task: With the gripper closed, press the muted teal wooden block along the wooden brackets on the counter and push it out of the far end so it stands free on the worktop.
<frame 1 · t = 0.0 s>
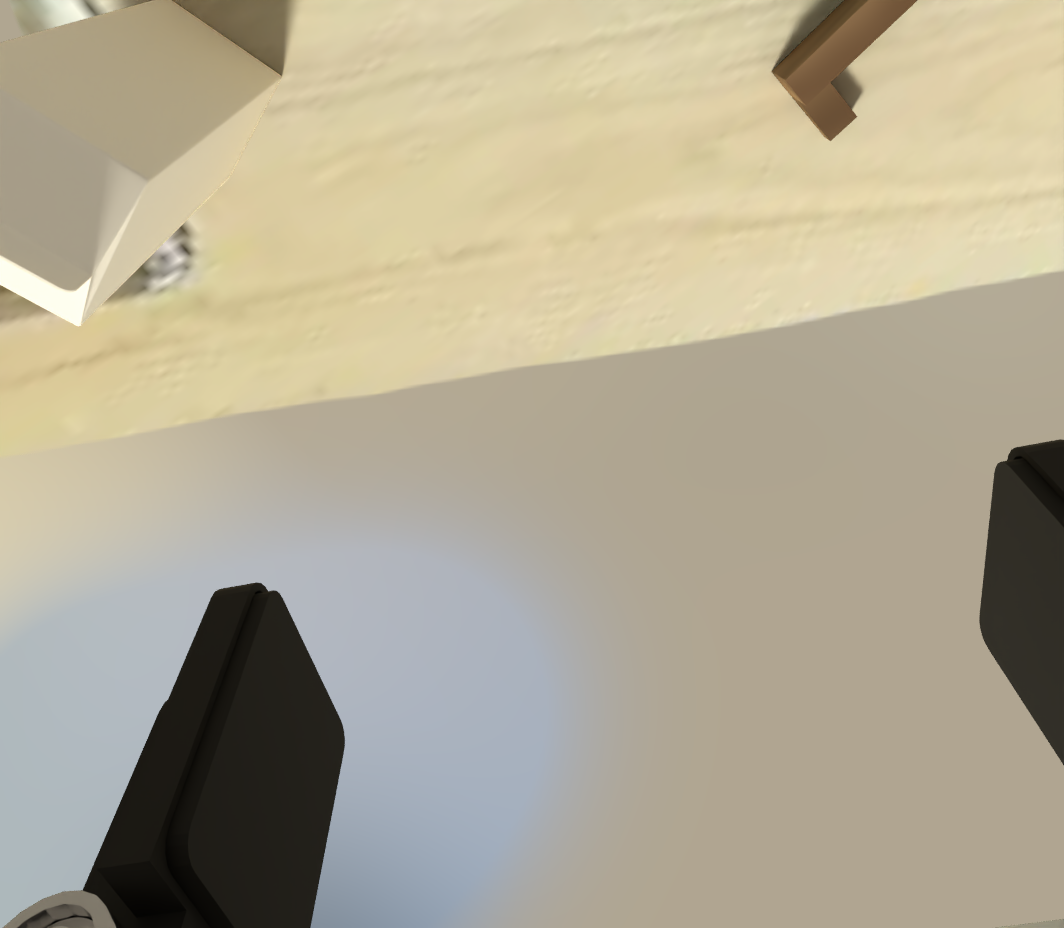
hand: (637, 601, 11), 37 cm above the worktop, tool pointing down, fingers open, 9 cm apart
milk: (201, 90, 43), on the worktop
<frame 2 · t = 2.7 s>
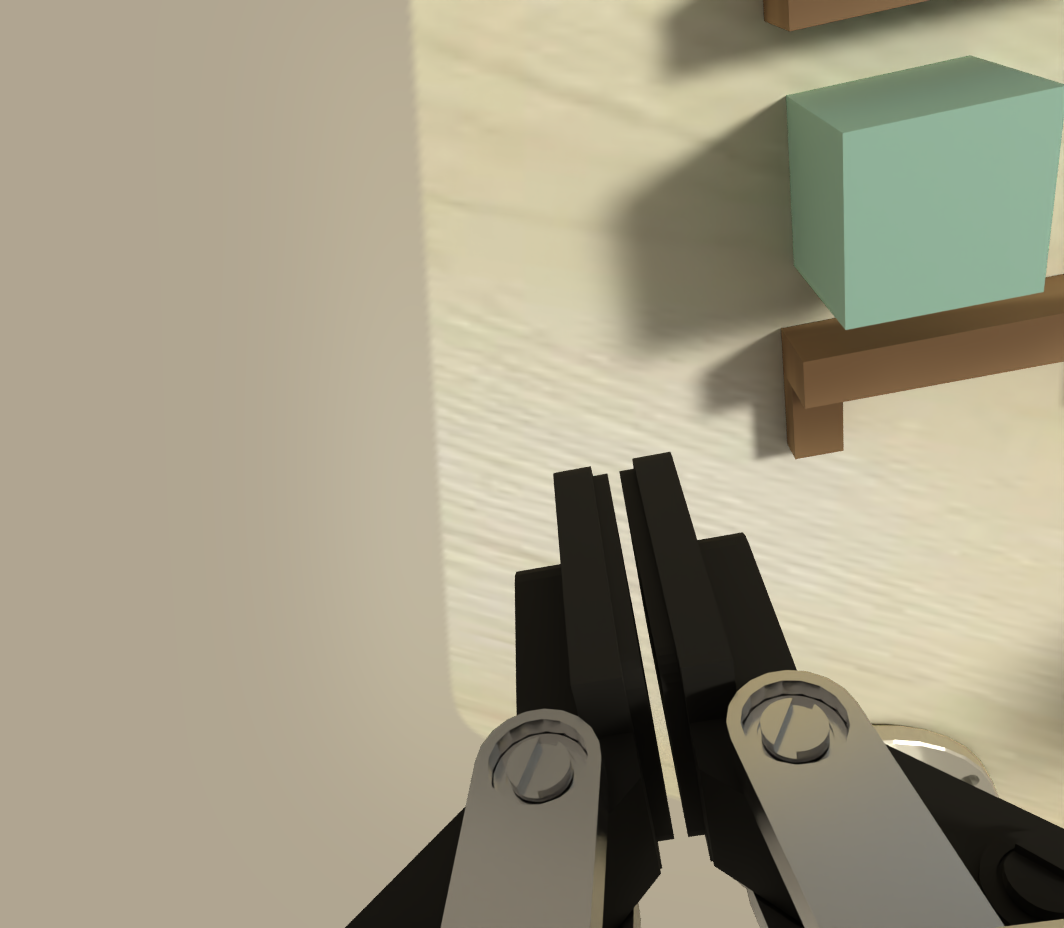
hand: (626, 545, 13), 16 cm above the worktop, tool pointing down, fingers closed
wooden brackets: (983, 145, 25), on the worktop
block: (875, 166, 25), on the worktop
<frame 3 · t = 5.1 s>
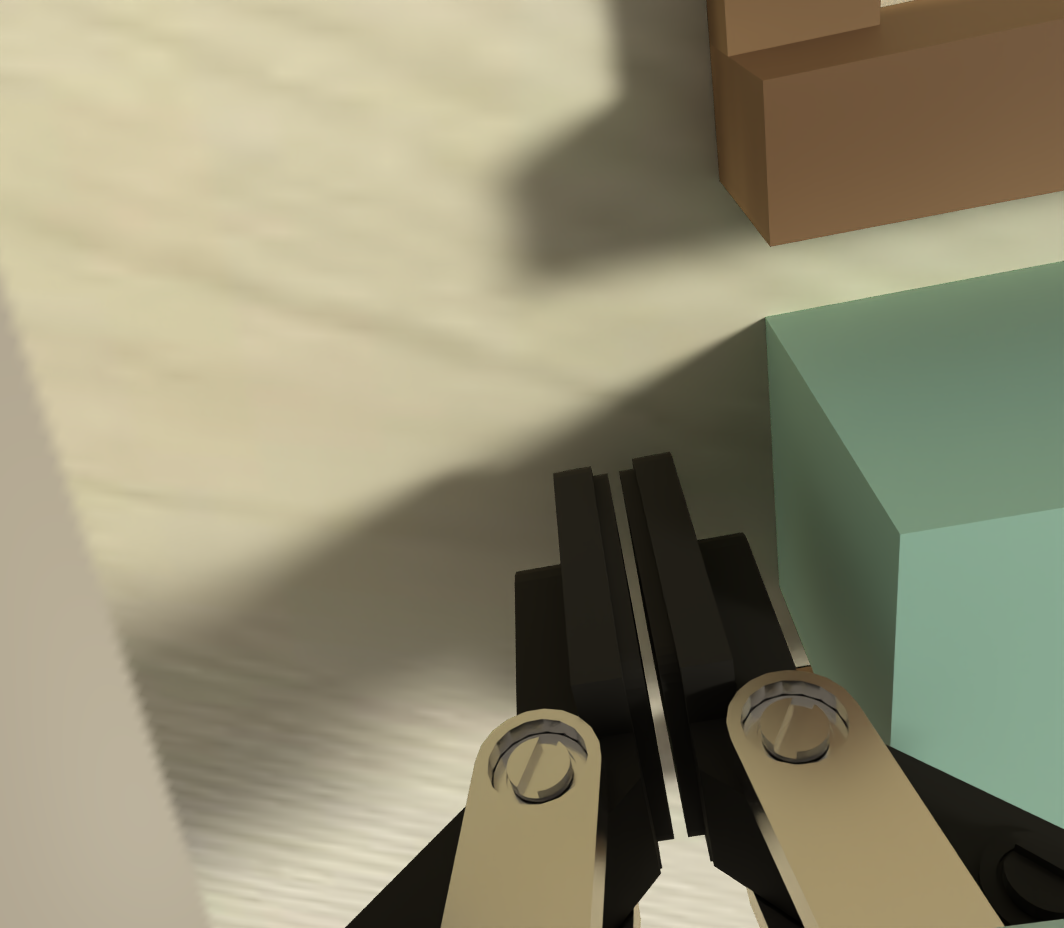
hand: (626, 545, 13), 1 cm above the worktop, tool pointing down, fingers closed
block: (936, 433, 13), on the worktop, touching gripper
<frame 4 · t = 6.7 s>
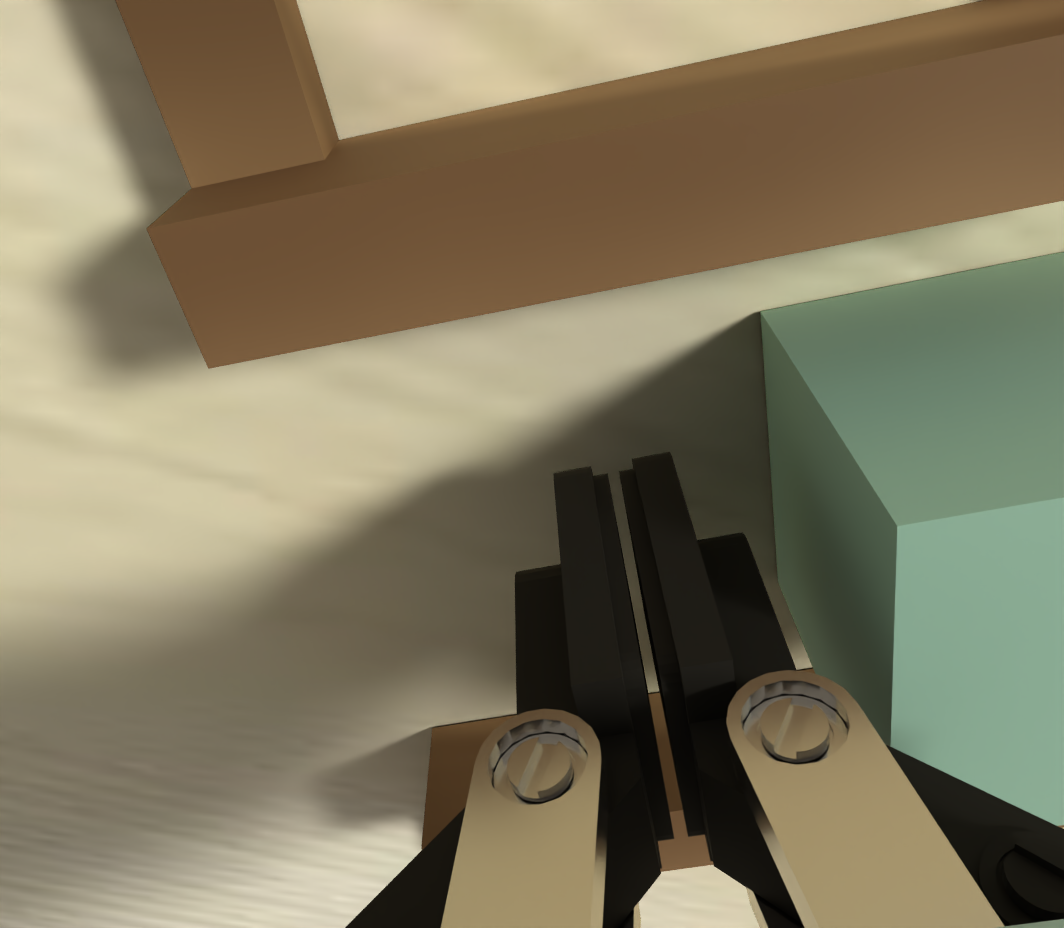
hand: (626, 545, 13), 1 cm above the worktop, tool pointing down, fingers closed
wooden brackets: (730, 479, 14), on the worktop
block: (934, 429, 13), on the worktop, touching gripper
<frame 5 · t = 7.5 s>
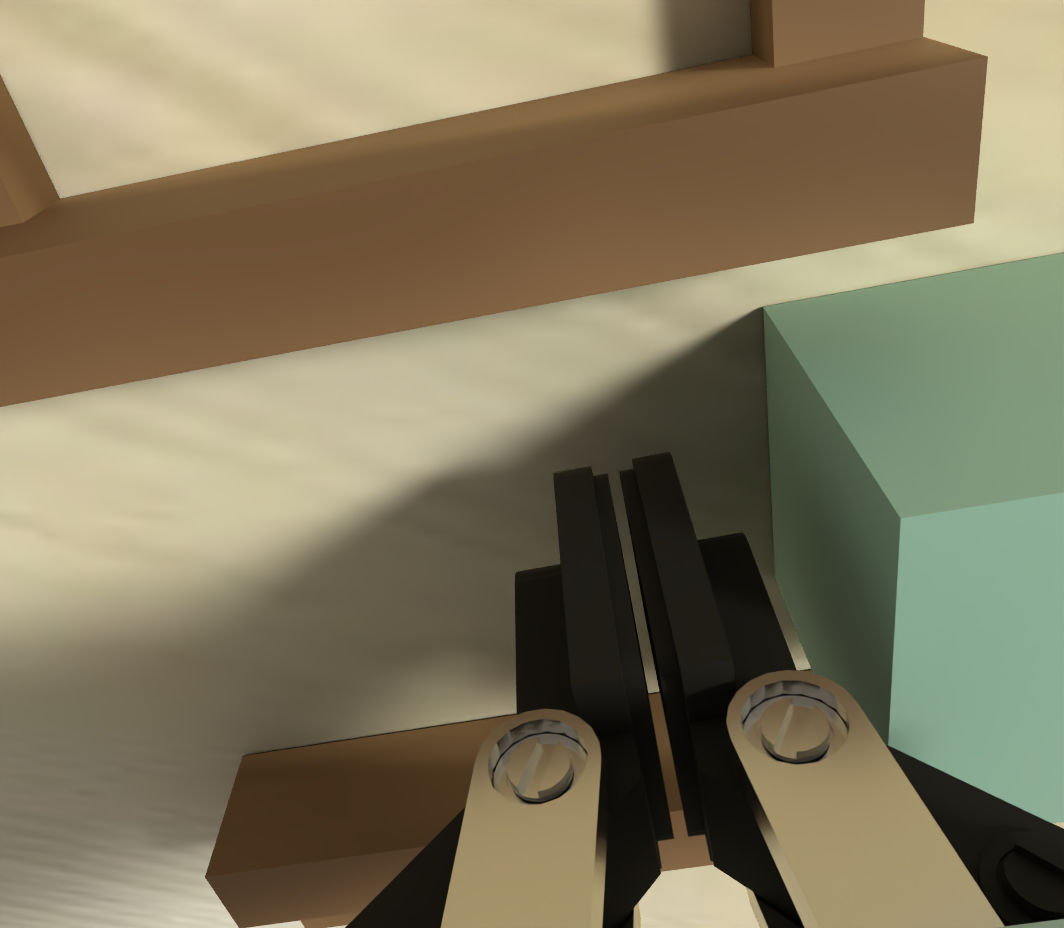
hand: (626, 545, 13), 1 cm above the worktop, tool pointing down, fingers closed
wooden brackets: (497, 520, 14), on the worktop
block: (934, 428, 13), on the worktop, touching gripper
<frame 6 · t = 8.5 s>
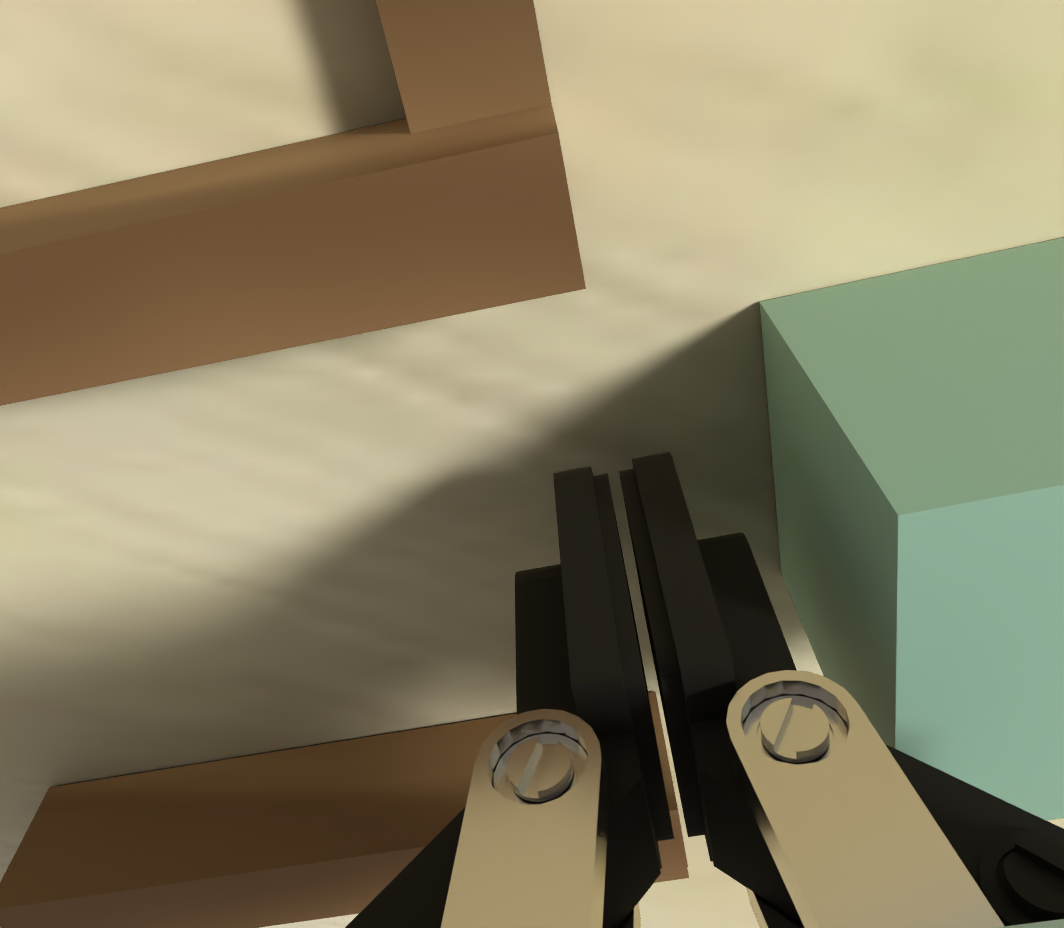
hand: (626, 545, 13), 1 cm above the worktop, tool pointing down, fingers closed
wooden brackets: (256, 560, 14), on the worktop
block: (938, 419, 13), on the worktop, touching gripper
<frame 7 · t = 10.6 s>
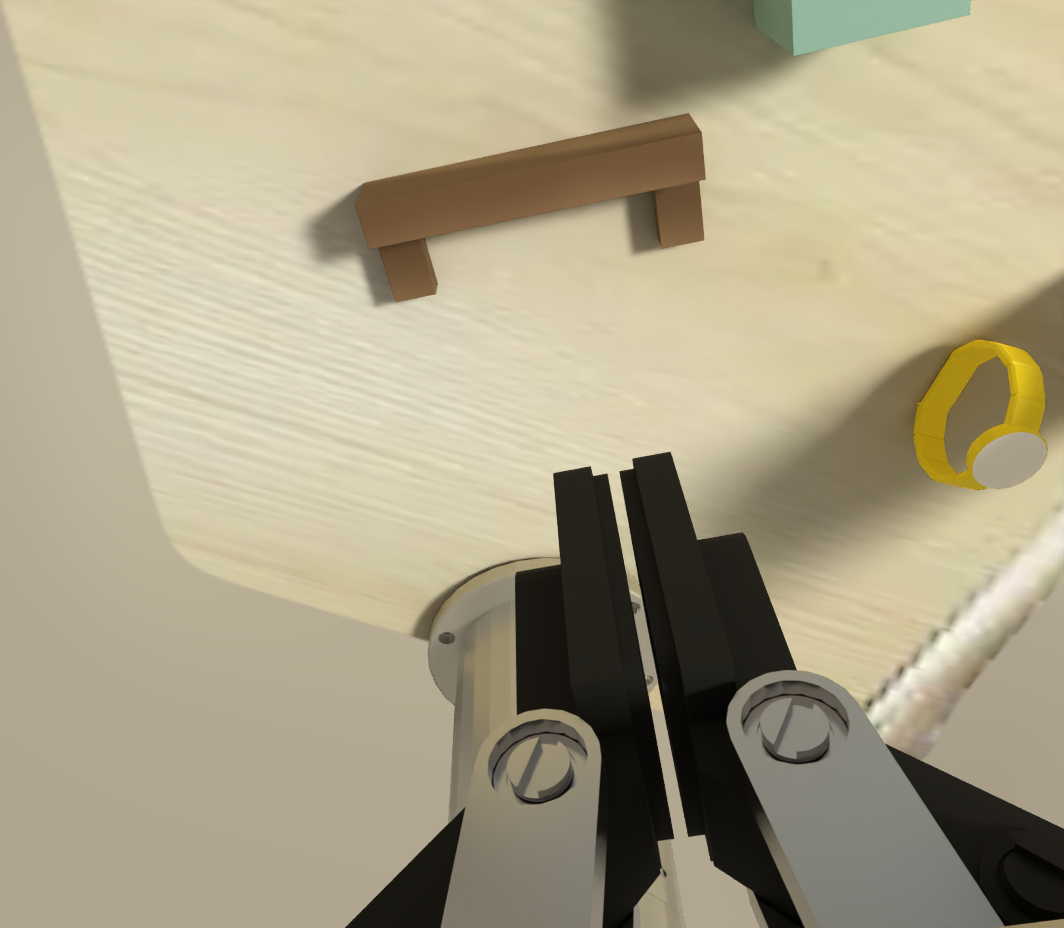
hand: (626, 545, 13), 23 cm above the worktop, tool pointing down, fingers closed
wooden brackets: (496, 13, 29), on the worktop
watch: (945, 380, 38), on the worktop
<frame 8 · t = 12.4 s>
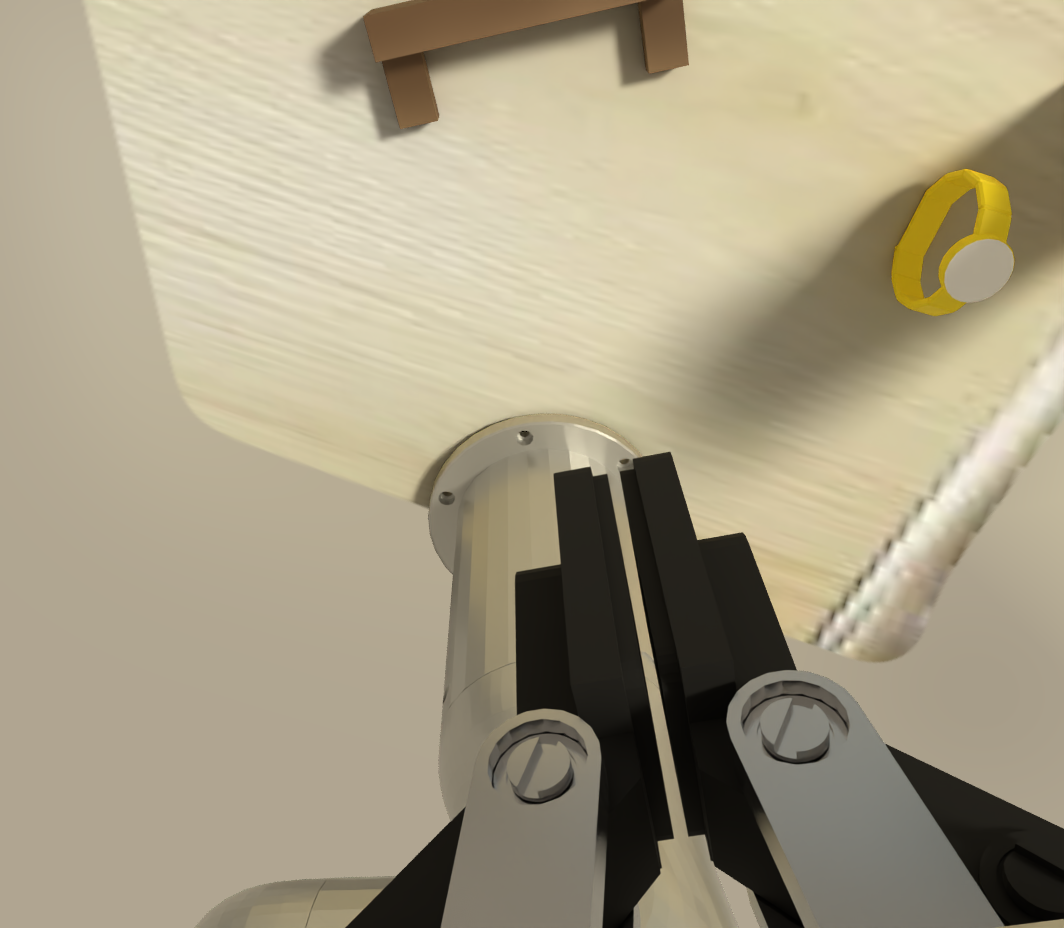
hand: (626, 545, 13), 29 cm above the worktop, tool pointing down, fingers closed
watch: (920, 223, 40), on the worktop
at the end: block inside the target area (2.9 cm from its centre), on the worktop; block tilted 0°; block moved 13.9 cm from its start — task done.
